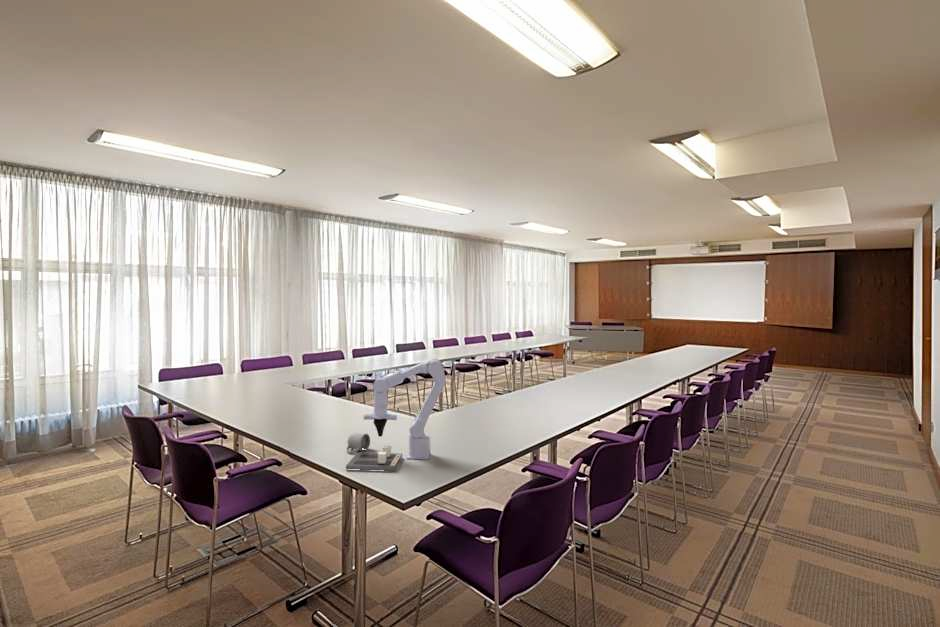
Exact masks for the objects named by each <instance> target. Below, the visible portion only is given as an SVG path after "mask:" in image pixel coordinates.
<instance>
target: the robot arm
mask: <svg viewBox="0 0 940 627" xmlns="http://www.w3.org/2000/svg"><path fill="white" fill-rule="evenodd" d="M420 373H423V374H427V373H428V374H430V376H431V377H432V379H433V385H432V387H431V389H430V391H429V393H428V395H427V397H426V399H425V401H424V402H423V404H422V407H421V409H420V410H419V412H418V414H417V416H416V417H415V419H413V420H412V421H411V423H410V427H409V435H408V455H407V456H406V459H408V460H409V459H410V460H428V459H429V457H430V456H431V436H428V435H427V436H426V433H425V427H426V424H427V422H428V419H429V417H430V415H431V413H432V411H433V409H434V408H435V406H436V403H437V401H438V399H439V398H440V396H441V394H442V392H443V389H444V388H445V385H446V376H445V375H446V374H445V368H444V365H443V364H442V361H441V360H440V359H438V358H432V359H430V360H429V359H428V360H425V361H423V362H420V363H418V364H416V365H414V366H411V367H409V368H407V369H405V370H403V371H399V370H392V371H391V372H390V373H388V374H386V375H385V374H384V375H381V377H378V378H376V380H374V382H373V385H372V389H373V390H374V391H373V394H374V395H373V413H369V414H365V413H364V415H363V420H366V421H367V420H373V424H374V426H375V429H376V431H377V435H378V437H380V438H381V437H382V436H383V435H384V431H385V430H384V429H385V427H386V424H387V421H397V420H398V415H397V414H390V413H389V414H388V394H387V393H388V392H387V391H388V390H387V389H390V388H392V387H395V386H397V385H399V384H402V383H403V382H404V380H405V379H407V378H410V377H412V376H414V375H417V374H420Z"/></svg>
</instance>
